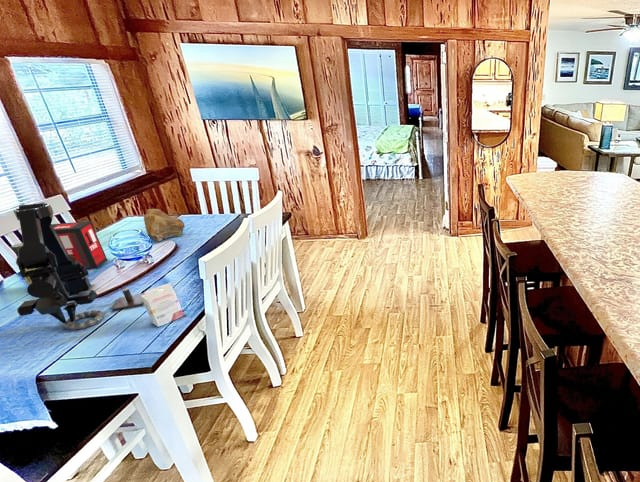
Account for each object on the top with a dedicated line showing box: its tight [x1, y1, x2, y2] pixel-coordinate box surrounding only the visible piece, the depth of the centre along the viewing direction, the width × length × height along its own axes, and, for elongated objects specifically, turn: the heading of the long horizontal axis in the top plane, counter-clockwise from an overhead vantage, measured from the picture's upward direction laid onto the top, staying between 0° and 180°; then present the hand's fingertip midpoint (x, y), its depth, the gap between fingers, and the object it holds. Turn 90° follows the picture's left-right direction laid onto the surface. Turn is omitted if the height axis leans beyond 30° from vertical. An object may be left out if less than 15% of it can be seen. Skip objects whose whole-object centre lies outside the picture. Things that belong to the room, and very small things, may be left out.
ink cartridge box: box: [141, 282, 185, 328], centre depth 140 cm, size 9×5×15 cm, turn 148°
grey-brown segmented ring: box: [63, 309, 106, 331], centre depth 140 cm, size 10×10×2 cm
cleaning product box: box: [51, 220, 108, 271], centre depth 174 cm, size 16×9×20 cm, turn 108°
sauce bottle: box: [10, 242, 36, 286], centre depth 156 cm, size 6×6×20 cm
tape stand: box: [111, 287, 145, 312], centre depth 151 cm, size 9×9×6 cm
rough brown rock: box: [143, 208, 186, 242], centre depth 208 cm, size 23×17×15 cm
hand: (69, 322), depth 138 cm, fingers closed on grey-brown segmented ring, 2 cm apart
